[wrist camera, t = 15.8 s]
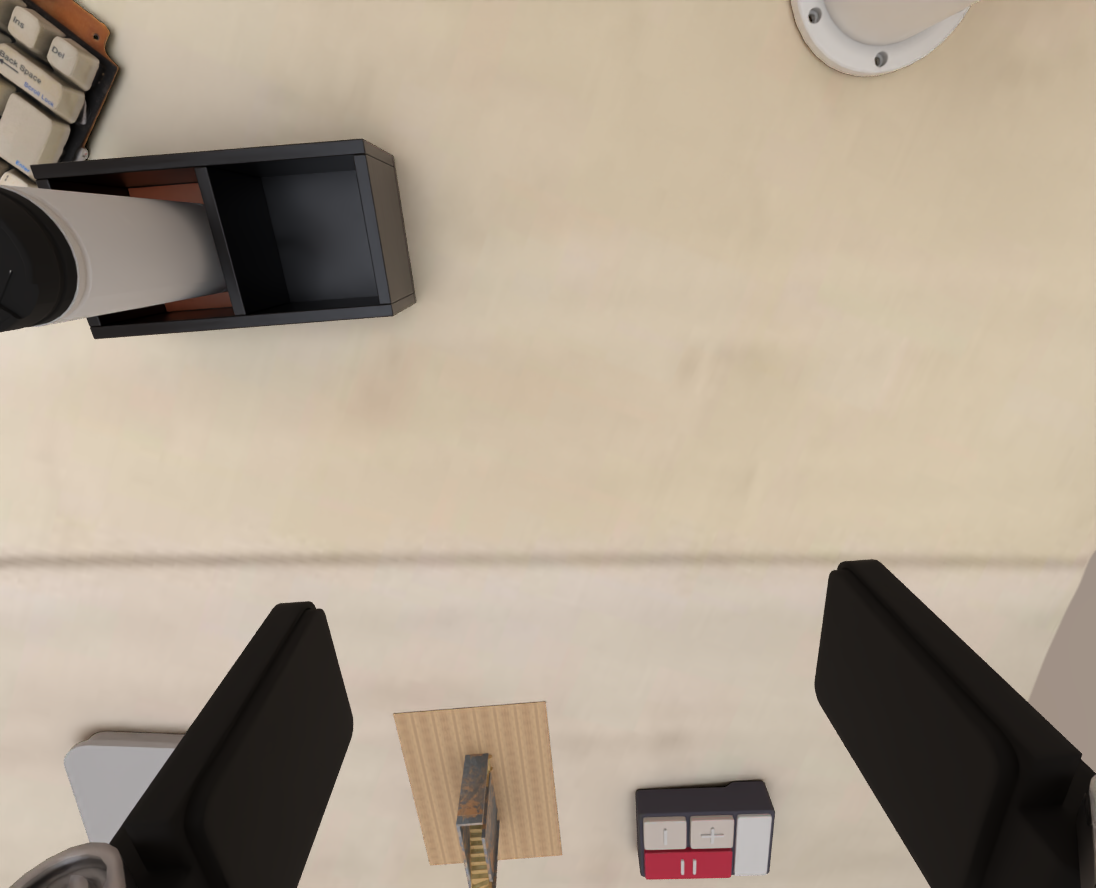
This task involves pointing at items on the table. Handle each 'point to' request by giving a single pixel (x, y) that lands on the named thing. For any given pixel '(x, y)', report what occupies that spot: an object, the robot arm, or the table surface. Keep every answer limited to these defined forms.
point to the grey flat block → (114, 776)
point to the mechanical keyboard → (49, 84)
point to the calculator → (705, 831)
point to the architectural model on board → (482, 785)
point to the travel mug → (99, 255)
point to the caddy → (268, 232)
